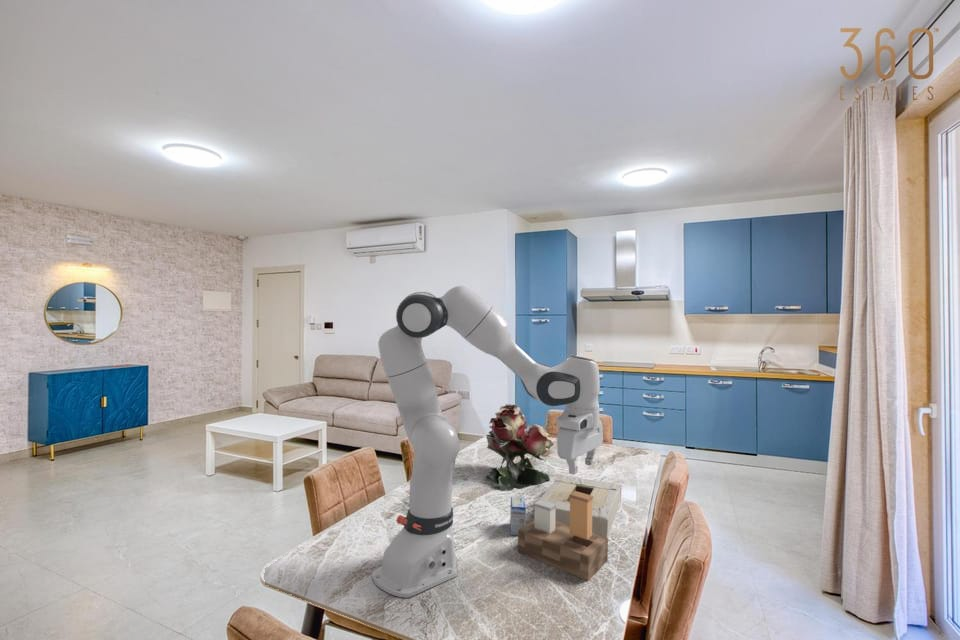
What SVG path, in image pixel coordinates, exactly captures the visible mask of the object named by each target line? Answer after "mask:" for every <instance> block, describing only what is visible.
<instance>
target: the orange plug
mask: <svg viewBox="0 0 960 640" xmlns="http://www.w3.org/2000/svg"><path fill="white" fill-rule="evenodd" d="M592 499H593V496H592V495H588V494H584V493H581V492H577V491H574V492H573V493H571V494H570V534H572V535H575V536H578V537H580V538H583V539H586V540H587V539H589V538H590V537H591V536H592Z"/></svg>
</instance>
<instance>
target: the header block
mask: <svg viewBox="0 0 960 640" xmlns="http://www.w3.org/2000/svg"><path fill="white" fill-rule="evenodd" d="M534 526H535V520H534V519H533V520H532V521H530V522H528V523H526V526H524V527H523V528H521V529H520V530H518V535H517V552H518V553H520V554H523V555H525V556H527V557H528V558H532V559H534V560H536V561H539V562H541V563H544V564H547V565H549V566H552V567H553V568H556V569H558V570H561V571H563V572H566V573H568V574H571V575H574V576H575V577H577V578H580V579H582V580H585V581H587V582H589V581H590V579H592V578H593V576H595V574H596V573H598V571H599V570H600V569H601V568H602V567H603V566H605V564H606V563H607V562H608V557H609V553H608V549H609V548H608V547H609V544H608V543H609V540H608V539H609V537H608V538H605V537H602V536H599V535H596V534H593V533H592V536H591V537H590V538H589V539H587V540H586V539H583V538H580V537H578V536H575V535H572V534H570V526H569V525H566V524H563V523H560V522H557V521H555V531H553V532H552V533H551V534H550V533H547V532H544V531H542V530H539V529H536V528H534Z"/></svg>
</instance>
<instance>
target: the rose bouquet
mask: <svg viewBox="0 0 960 640" xmlns="http://www.w3.org/2000/svg"><path fill="white" fill-rule="evenodd" d="M494 414H495V416H496V417H491V418H490V421H489V423H488V424H491V425H490V426H488V427H489V428H490V429H491V430H490V431H489V432H488V434H486V435H485V436H486V437H485V438H486V441H487V446H486V448H487V449H488V450H490V451H492V452H494V453H496V454H497V455H499V456H501V457H502V461H501V466H499V468H498V467H491V468H490V471H489V472H488V475H485V476H484V477H483V478H484V479H491V480H492V481H495V483H493V485H494V486H495V487H497V488H498V489H499V490H500V491H501V492H505V491H506V492H512V491H514V490H515V489H517V490H521V489H526V488H528V487H530V486H533V485H537V484H543V483H545V482H546V481H549V480H551V479H550V475H549V474H548V473H546V472H544V471H543V470H542V471H539V470H538V469H535V468H534V466H533V464H532V463H531V461H530V459H529V458H528V457H525V455H527V454H528V455H531V456H532V457H534V458H536V459H538V460H539V461H544V462H546V460H545V459H543V458H541V457H540V456H542V457H547V456H549V455H550V448H551V447H554V446H555V443H554V442H553V441H551V439H549V436H551V434H549V433H548V432H547V431H546V429H545V428H544V427H543V426H541V425H539V424H535V423H533V424H530V425H529V424H528V425H527V421H528V420H527V419H525V417H526V416H525V415H524V414H523V413H522V412H521V408H520V406H519V405H517V404H505V405H502V406H500V408H499V411H498V412H495V413H494ZM547 449H548V450H547ZM518 457H520V460H519V461H518V462H516V463H515V462H514V460H515V459H516V458H518ZM505 461H506V466H504V467H503V464H504V463H505Z"/></svg>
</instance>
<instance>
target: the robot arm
mask: <svg viewBox="0 0 960 640" xmlns="http://www.w3.org/2000/svg"><path fill="white" fill-rule="evenodd" d="M395 312H396V315H395V319H396V323H397V325H396V326H395V327H392V328H390V329H387V330H386V331H384V332H383V333H382V334H381V336H379V338H378V339H379V340H378V350H379V351H378V352H379V355H380V356H379V357H380V360H381V363H382V367H383V371H384V374H385V377H386V379H387V382H388V385H389V387H390V390H391V392H392V395H393V398H394V400H395V404H396V405H397V409H398V413H399V416H400V419H401V422H402V425H403V428H404V431H405V434H406V437H407V439H408V442H409V443H410V445H411V447H412V449H413V464H412V472H411V475H410V479H409V508H408V510H407V514H406V517H405V516H403V515H401V514H399V515H398V516H397V517H396V523H397V524H399V525H402V526H403V527H402V529H401V530H400V531H399V532H398V534H397V535H396V537H394V539H393V540H392V541H391V543H390V544H389V545H388V546H387V547H386V549H385V550H384V552H383V556H382V561H381V565H380V566H379V567H377V568H376V569H375V570H373V571H372V572H371V573H372V575H371V580H372V581H373V583H374V584H375V585H376V586H377V587H378V588H380V589H381V590H382V591H384V592H386V593H387V594H390V595H393V596H395V597H399V598H405V599H407V598H411V597H413V596H415V595H419V594H420V593H422V592H424V591H427V590H429V589H431V588H433V587H436V586H438V585H440V584H442V583H444V582H446V581H449V580H451V579H454V578H455V577H457V576H458V573H459V572H458V568H457V564H458V559H457V556H456V553H455V551H456V550H455V542H454V535H453V529H452V526H453V524H454V510H453V509H454V508H453V506H452V497H453V496H452V493H453V491H452V490H453V476H454V470H455V465H456V459H457V457H458V455H459V452H460V447H461V446H460V439H459V436H458V433H457V431H456V429H455V428H454V426H453V425H452V424H450V423H449V422H448V421H447V420H446V418H445V417H444V415H443V412H442V409H441V408H442V407H441V405H440V400H439V397H438V395H439V394H438V388H437V387H436V383H435V381H434V377H433V374H432V373H431V370H430V366H429V363H428V361H427V358H426V356H425V353H424V350H423V347H422V346H423V345H422V339H423V338H426V337H428V336H430V335H432V334H434V333H436V332H437V331H438V330H439V331H440V329H442V328H444V327H445V326H447V327H449V328H451V329H453V330H454V331H455V332H457V333H458V334H459V335H460V336H461V337H462V338H463V339H464V340H465V341H467V342H468V343H469V344H470V345H472V346H473V347H475V348H477V349H478V350H480V351H481V352H484V354H487V355H490V356H492V357H495V358H497V359H498V360H500V361H501V363H503V364H504V365H505V366H506V367H507V368H508V369H509V370H510V371H512V372H513V373H514V374H515V375H516V376H517V377H518V378H519V379H520V381H521V384H522V387H523V388H524V391H525V392H526V393H527V394H528V396H529V397H531V398H532V399H535V400H537V401H539V402H540V403H542V404H544V405H545V406H548V407H559V406H565V409H564V410H563V412H562V413H561V414H560V415H559V416H558V418H557V419H556V427H557V428H558V430H557V433H556V434H557V435H556V437H557V438H556V451H557V455H558V458H560V459H562V460H566V463H567V465H568V473H569V474H570V475H575V474H578V467H579V466H578V465H577V463H576V462H577V458H578V457H580V456H583V455H584V454H586V457H585V458H584V464H585V465H587V466H593V464H594V457H595V455H596V451H597V448H599V447H601V446H602V445H603V442H604V432H603V430H604V428H603V423H602V421H601V419H600V404H599V403H600V402H599V394H600V390H601V389H600V388H601V385H600V384H601V381H600V369H599V365H598V363H597V362H596V360H594V359H591V358H587V357H582V356H577V355H571V356H569V357H568V358H567V359H565V360H564V361H563V362H560V363H559V364H557V365H555V366H552V367H550V366H548V365H546V364H542V363H539V362H537V361H535V360H533V358H532V357H530V356H529V355H528V354H527V353H526V352H525V351H524V350H523V349H522V348H520V346H518V344H516V342H515V341H514V340H513V338H512V334H511V328H510V325H509V323H508V322H507V321H506V318H504V317H503V316H502V314H500V313H499V311H498V310H497V309H495V307H494V306H492V305H491V304H490V303H489V302H487V301H486V299H484V298H483V297H481V296H480V295H479V294H477V293H475V292H474V291H473V290H471V289H469V288H467V287H466V286H461V285H457V286H453V287H452V288H450V289H449V290H447V292H445V294H443V295H442V296H441V297H440V296H439V297H436V296H435V295H434V294H432V293H430V292H428V291H417V292H416V291H415V292H413V293H411V294H408V295H407V296H406V297H405V298H404V299H402V301H401V302H400V303H399V305H398V306H397V309H396V311H395Z"/></svg>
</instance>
